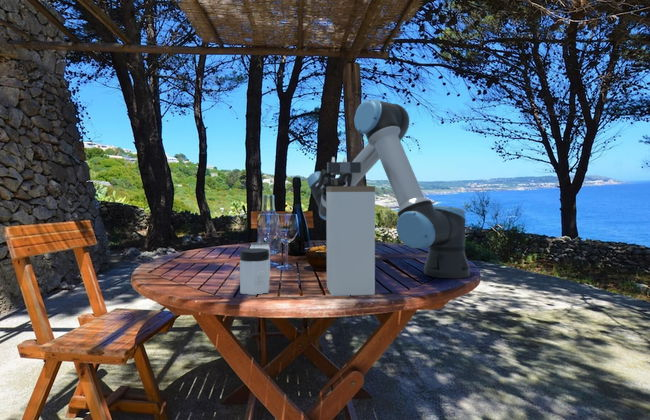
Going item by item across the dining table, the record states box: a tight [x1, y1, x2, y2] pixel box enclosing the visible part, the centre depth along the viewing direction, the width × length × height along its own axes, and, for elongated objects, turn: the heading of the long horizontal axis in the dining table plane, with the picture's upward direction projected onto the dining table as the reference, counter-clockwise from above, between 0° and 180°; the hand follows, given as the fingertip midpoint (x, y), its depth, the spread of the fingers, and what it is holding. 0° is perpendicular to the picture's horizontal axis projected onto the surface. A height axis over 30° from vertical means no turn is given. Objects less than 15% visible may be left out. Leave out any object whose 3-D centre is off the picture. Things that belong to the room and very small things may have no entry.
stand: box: [325, 185, 376, 297], centre depth 124 cm, size 12×12×30 cm
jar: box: [239, 248, 270, 296], centre depth 123 cm, size 9×8×12 cm
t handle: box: [326, 161, 361, 176], centre depth 141 cm, size 20×10×3 cm, turn 7°
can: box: [249, 241, 271, 280], centre depth 139 cm, size 6×6×12 cm
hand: (339, 160), depth 142 cm, fingers closed on t handle, 3 cm apart
